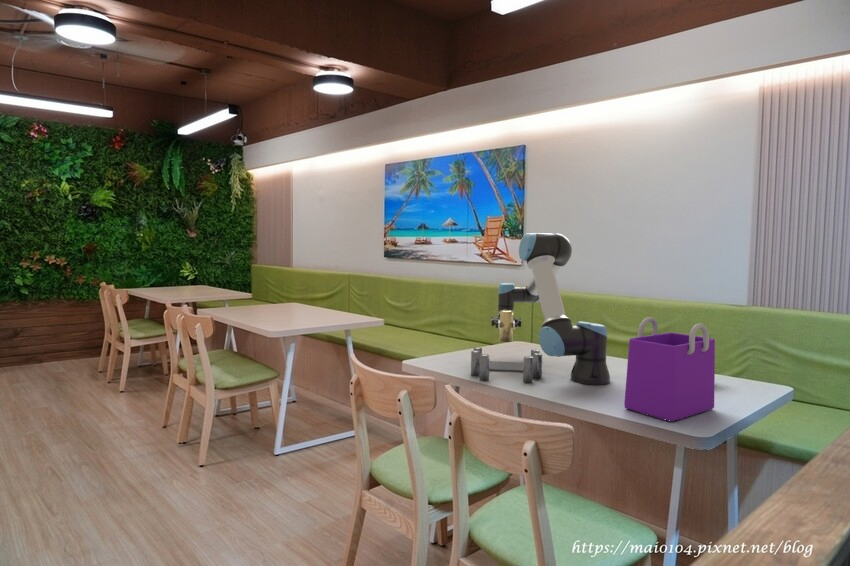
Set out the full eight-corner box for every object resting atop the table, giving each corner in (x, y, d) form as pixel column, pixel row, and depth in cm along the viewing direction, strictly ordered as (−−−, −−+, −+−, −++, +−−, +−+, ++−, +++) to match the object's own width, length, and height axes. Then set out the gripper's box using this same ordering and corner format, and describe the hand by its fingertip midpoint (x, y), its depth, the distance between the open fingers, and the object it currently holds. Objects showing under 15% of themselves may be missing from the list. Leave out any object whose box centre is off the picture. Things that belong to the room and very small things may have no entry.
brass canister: (515, 341, 236) (515, 311, 235) (506, 342, 232) (507, 312, 231) (505, 339, 240) (505, 309, 239) (496, 340, 237) (497, 311, 235)
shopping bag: (689, 427, 163) (694, 328, 161) (619, 411, 178) (622, 320, 176) (717, 407, 183) (722, 319, 181) (652, 394, 198) (655, 313, 196)
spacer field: (540, 373, 229) (540, 349, 228) (543, 383, 212) (543, 358, 211) (472, 370, 233) (472, 347, 232) (469, 380, 216) (470, 355, 215)
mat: (523, 364, 246) (523, 362, 246) (524, 372, 230) (525, 370, 230) (488, 362, 248) (488, 360, 248) (486, 370, 233) (487, 368, 232)
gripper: (525, 327, 253) (528, 335, 230) (485, 325, 256) (484, 334, 233) (526, 311, 252) (529, 318, 230) (486, 309, 255) (484, 316, 232)
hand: (506, 326), depth 231 cm, fingers closed on brass canister, 6 cm apart
